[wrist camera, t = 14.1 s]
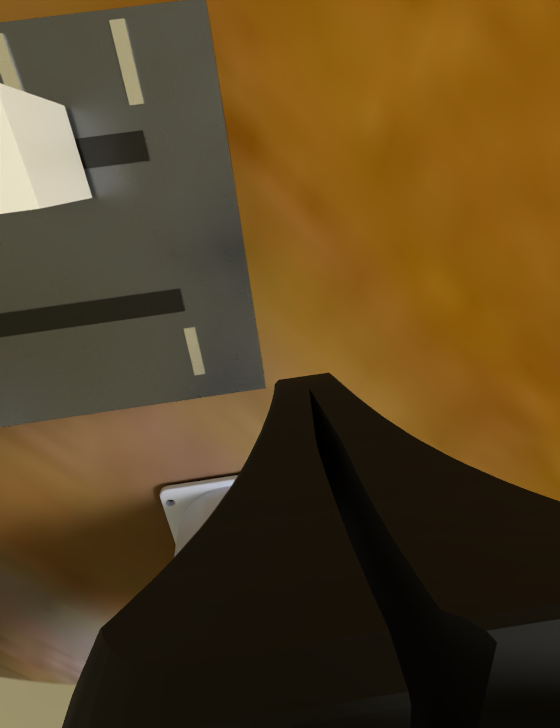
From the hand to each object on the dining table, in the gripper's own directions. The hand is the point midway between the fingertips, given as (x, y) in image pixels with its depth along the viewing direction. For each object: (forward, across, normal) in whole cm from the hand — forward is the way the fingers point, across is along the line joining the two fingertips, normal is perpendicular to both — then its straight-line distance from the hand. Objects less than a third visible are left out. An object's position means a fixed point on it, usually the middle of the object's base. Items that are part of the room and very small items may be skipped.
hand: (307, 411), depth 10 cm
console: (+10, +12, -3) cm, 16 cm away
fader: (+9, +8, -7) cm, 14 cm away
